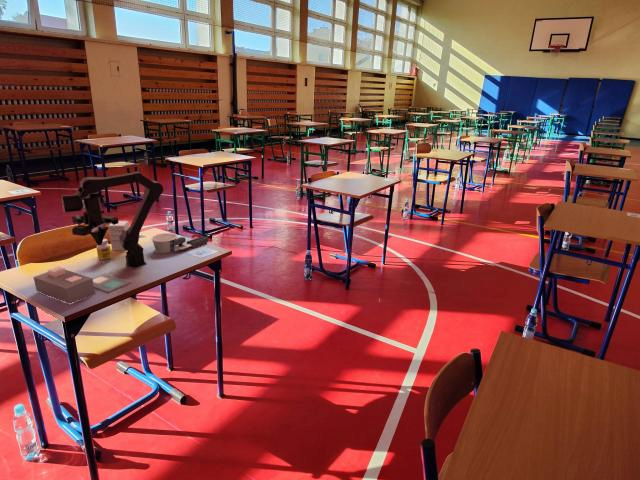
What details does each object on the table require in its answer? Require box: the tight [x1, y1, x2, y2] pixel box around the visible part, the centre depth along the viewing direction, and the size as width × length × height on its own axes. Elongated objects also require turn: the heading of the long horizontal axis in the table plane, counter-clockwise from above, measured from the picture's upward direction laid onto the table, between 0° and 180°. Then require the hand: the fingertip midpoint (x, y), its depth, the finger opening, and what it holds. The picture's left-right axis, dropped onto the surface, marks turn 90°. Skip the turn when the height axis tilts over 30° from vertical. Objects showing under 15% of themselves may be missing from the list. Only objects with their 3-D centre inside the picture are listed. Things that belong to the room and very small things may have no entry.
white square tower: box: [107, 220, 130, 251], centre depth 203 cm, size 7×7×13 cm
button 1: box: [47, 266, 66, 277], centre depth 160 cm, size 4×4×4 cm
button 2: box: [65, 276, 82, 283], centre depth 156 cm, size 4×4×4 cm
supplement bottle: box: [96, 238, 113, 263], centre depth 188 cm, size 5×5×10 cm
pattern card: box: [91, 273, 132, 294], centre depth 167 cm, size 10×16×1 cm, turn 62°
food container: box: [150, 232, 178, 254], centre depth 202 cm, size 12×12×6 cm
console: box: [33, 269, 96, 303], centre depth 158 cm, size 10×20×6 cm, turn 62°
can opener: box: [174, 235, 210, 251], centre depth 207 cm, size 19×5×6 cm, turn 147°
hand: (99, 244), depth 174 cm, fingers closed
